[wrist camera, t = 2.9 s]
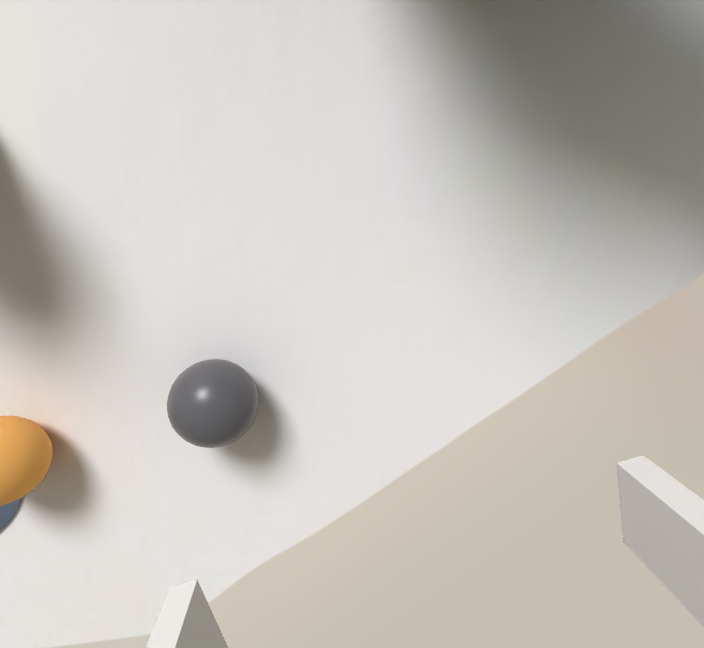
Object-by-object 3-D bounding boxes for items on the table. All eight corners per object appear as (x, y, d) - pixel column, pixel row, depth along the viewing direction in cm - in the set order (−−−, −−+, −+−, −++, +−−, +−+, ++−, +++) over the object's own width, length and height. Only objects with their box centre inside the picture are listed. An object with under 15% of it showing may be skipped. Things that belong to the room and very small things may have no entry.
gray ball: (171, 359, 28) (137, 393, 23) (249, 339, 28) (234, 367, 23) (199, 429, 29) (173, 476, 24) (273, 409, 30) (263, 451, 24)
